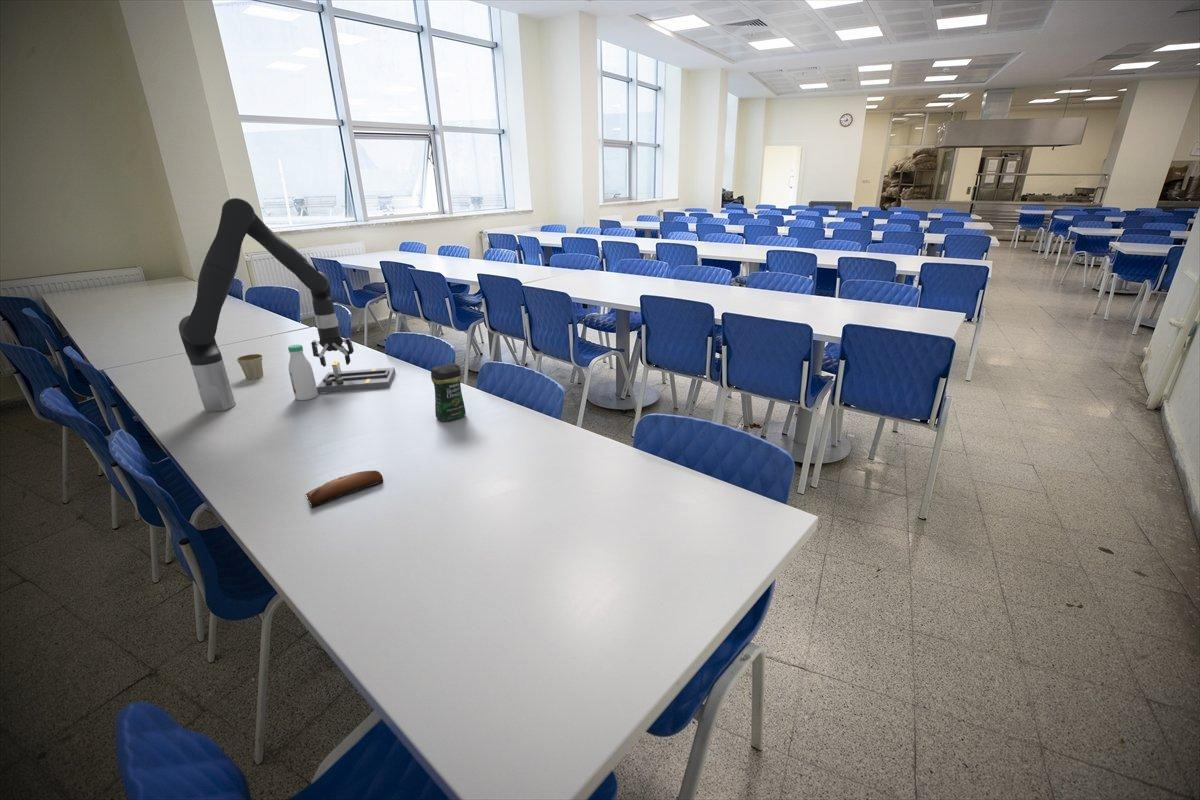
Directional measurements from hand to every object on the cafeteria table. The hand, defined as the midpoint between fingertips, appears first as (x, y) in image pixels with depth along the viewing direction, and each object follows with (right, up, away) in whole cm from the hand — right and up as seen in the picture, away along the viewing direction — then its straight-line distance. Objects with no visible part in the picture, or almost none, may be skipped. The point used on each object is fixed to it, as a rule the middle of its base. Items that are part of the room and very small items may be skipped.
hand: (336, 365), depth 211 cm
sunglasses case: (+37, -38, -71) cm, 88 cm away
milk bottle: (-6, -13, -10) cm, 17 cm away
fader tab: (0, -5, +2) cm, 5 cm away
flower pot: (-40, -4, +12) cm, 42 cm away
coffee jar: (+53, -20, -28) cm, 64 cm away
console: (+7, -7, +4) cm, 11 cm away
